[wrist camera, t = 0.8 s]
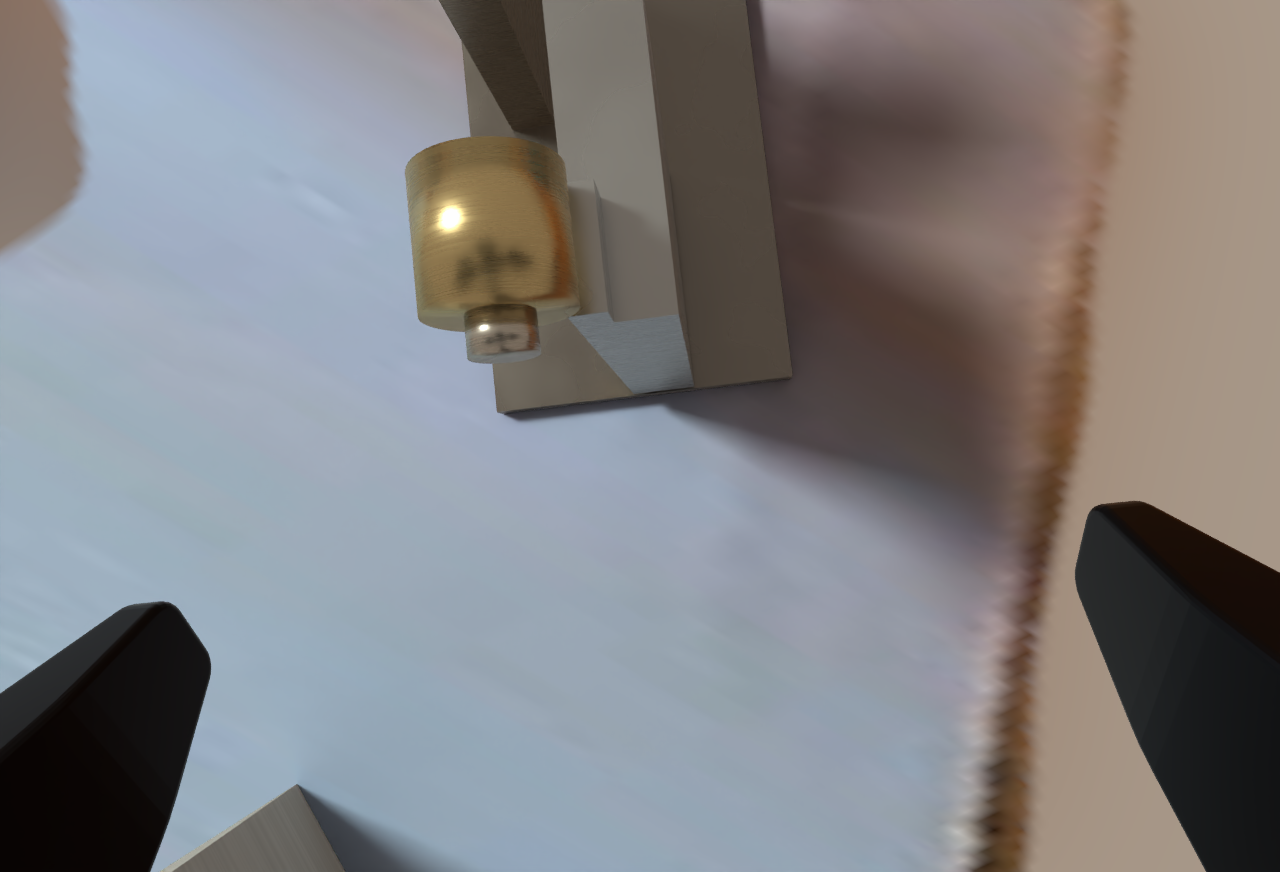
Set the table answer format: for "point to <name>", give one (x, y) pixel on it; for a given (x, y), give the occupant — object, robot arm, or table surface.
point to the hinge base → (700, 182)
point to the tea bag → (267, 842)
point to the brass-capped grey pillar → (562, 214)
